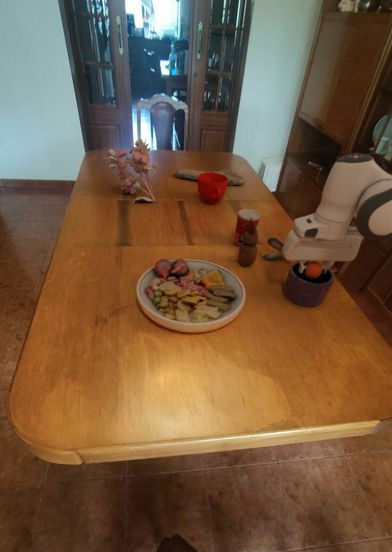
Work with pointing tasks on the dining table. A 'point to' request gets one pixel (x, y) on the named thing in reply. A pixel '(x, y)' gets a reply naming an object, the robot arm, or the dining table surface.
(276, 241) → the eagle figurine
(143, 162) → the flower
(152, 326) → the dining table surface
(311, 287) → the pot
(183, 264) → the bowl
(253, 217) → the canned food
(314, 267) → the ball
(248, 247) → the wooden figurine
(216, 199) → the ceramic cup
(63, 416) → the dining table surface
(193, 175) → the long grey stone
